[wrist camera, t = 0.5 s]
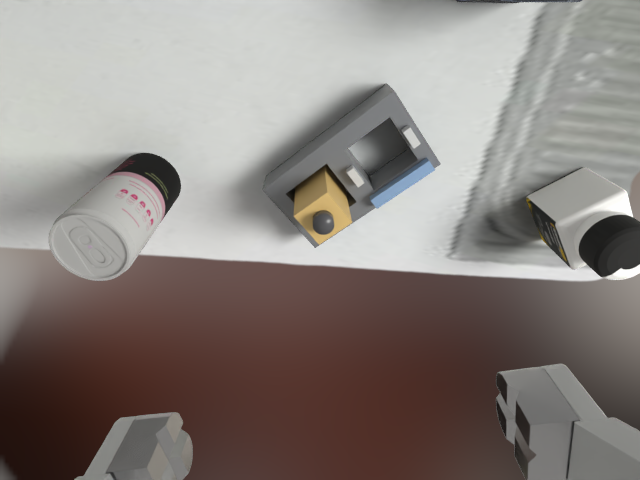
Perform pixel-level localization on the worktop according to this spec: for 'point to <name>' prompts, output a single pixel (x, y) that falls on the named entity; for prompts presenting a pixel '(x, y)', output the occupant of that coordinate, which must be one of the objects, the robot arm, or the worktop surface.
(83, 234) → the beverage can
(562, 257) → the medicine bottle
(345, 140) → the grey compartment tray
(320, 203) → the drawer with knob
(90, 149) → the worktop surface
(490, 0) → the small box
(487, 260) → the worktop surface
